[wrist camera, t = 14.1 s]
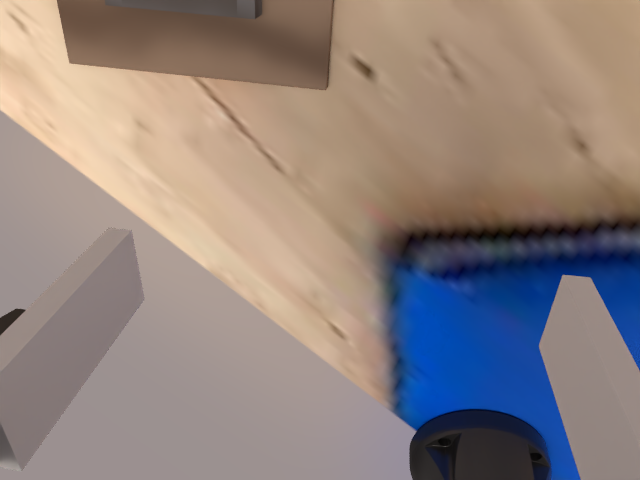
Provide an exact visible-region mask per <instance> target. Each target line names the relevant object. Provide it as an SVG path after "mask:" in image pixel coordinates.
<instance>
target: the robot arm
mask: <svg viewBox="0 0 640 480" xmlns="http://www.w3.org/2000/svg"><path fill="white" fill-rule="evenodd" d="M143 300H144V294H143V289H142V283H141V278H140V272H139V267H138V262H137V257H136V251H135V246H134V240H133V235H132V230H126V229H116V228H108V229H107V230H106V231H105V232H104V233H103V234H102V235H101V236H100V237H99V238H98V239H97V240H96V241H95V242H94V243H93V244H92V245H91V246H90V247H89V248H88V249H87V250H86V251H85V252H84V253H83V254H82V255H81V256H80V257H79V258H78V259H77V260H76V261H75V262H74V263H73V264H72V265H71V266H70V267H69V268H68V269H67V270H66V271H65V272H64V273H63V274H62V275H61V276H60V277H59V278H58V279H57V280H56V281H55V282H54V283H53V284H52V285H51V286H50V287H49V288H48V289H47V290H46V291H45V292H44V293H43V294H42V295H41V296H40V297H39V298H38V299H37V300H36V301H35V302H34V303H33V304H32V305H31V306H30V307H29V308H28V309H27V310H23V309H15V310H13V311H11V312H10V313H8V314H6V315H4V316H3V317H1V318H0V468H6V469H13V470H18V471H22V470H23V469H24V467H25V466H26V465H27V463H28V462H29V460H30V459H31V457H32V456H33V455H34V453H35V452H36V450H37V449H38V448H39V446H40V445H41V443H42V442H43V440H44V439H45V438H46V436H47V435H48V434H49V432H50V431H51V429H52V428H53V427H54V425H55V424H56V422H57V421H58V419H59V418H60V417H61V415H62V414H63V413H64V411H65V410H66V408H67V407H68V406H69V404H70V403H71V401H72V400H73V399H74V397H75V396H76V394H77V393H78V392H79V390H80V389H81V387H82V386H83V385H84V383H85V382H86V380H87V379H88V378H89V376H90V375H91V373H92V372H93V371H94V369H95V368H96V366H97V365H98V363H99V362H100V361H101V359H102V358H103V357H104V355H105V354H106V352H107V351H108V350H109V348H110V347H111V345H112V344H113V343H114V341H115V340H116V338H117V337H118V336H119V334H120V333H121V331H122V330H123V329H124V327H125V326H126V324H127V323H128V321H129V320H130V319H131V317H132V316H133V314H134V313H135V312H136V310H137V309H138V308H139V306H140V305H141V303H142V302H143ZM539 348H540V351H541V355H542V358H543V361H544V364H545V367H546V370H547V374H548V377H549V380H550V383H551V386H552V390H553V393H554V396H555V399H556V402H557V405H558V409H559V412H560V415H561V418H562V421H563V424H564V428H565V431H566V434H567V437H568V440H569V443H570V447H571V450H572V453H573V456H574V459H575V462H576V466H577V469H578V472H579V475H580V478H581V480H640V371H639V369H638V367H637V365H636V363H635V361H634V359H633V358H632V356H631V354H630V352H629V350H628V348H627V346H626V344H625V342H624V340H623V338H622V337H621V335H620V333H619V331H618V329H617V327H616V325H615V323H614V321H613V319H612V318H611V316H610V314H609V312H608V310H607V308H606V306H605V304H604V302H603V300H602V299H601V297H600V295H599V293H598V291H597V289H596V287H595V285H594V283H593V281H592V280H591V278H589V277H579V276H570V275H563V276H562V279H561V282H560V284H559V287H558V290H557V293H556V296H555V299H554V302H553V305H552V308H551V311H550V314H549V317H548V320H547V323H546V326H545V329H544V332H543V335H542V338H541V341H540V344H539ZM410 471H411V475H412V478H413V480H551V463H550V459H549V455H548V451H547V447H546V444H545V442H544V440H543V438H542V437H541V436H540V434H539V433H538V432H537V431H536V430H535V429H533V428H532V427H531V426H529V425H528V424H526V423H525V422H523V421H521V420H519V419H517V418H514V417H512V416H509V415H505V414H501V413H497V412H491V411H478V410H473V411H460V412H454V413H450V414H446V415H443V416H440V417H438V418H435V419H433V420H431V421H430V422H428V423H426V424H425V425H424V426H422V427H421V428H420V429H419V430H418V431H417V432H416V434H415V435H414V437H413V439H412V441H411V444H410Z"/></svg>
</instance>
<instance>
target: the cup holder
mask: <svg viewBox="0 0 640 480" xmlns="http://www.w3.org/2000/svg"><path fill="white" fill-rule="evenodd" d="M57 3H58V8H59V13H60V18H61V23H62V28H63V33H64V38H65V43H66V48H67V53H68V58H69V63H71V64H81V65H90V66H100V67H109V68H119V69H128V70H138V71H147V72H157V73H167V74H176V75H186V76H195V77H205V78H214V79H224V80H233V81H243V82H252V83H262V84H272V85H281V86H291V87H300V88H310V89H319V90H326V89H327V87H328V75H329V61H330V46H331V32H332V17H333V3H334V0H57Z"/></svg>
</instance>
